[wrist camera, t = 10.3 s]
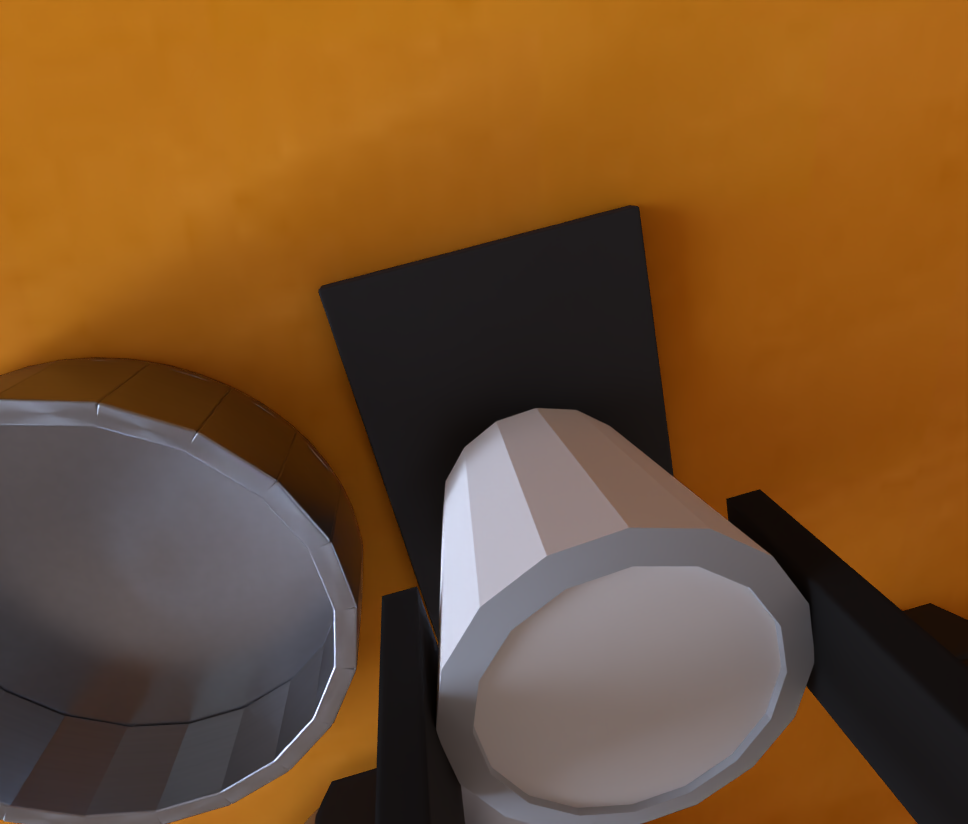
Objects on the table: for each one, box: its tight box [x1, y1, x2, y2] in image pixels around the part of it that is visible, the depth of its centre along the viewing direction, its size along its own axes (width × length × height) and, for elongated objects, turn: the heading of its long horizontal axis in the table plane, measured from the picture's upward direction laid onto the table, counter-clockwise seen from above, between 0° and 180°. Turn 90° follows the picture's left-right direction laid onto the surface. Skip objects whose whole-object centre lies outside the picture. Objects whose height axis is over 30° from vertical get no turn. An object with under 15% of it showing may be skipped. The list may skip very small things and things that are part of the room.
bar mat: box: [319, 205, 674, 642], centre depth 18 cm, size 8×14×1 cm, turn 13°
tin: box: [0, 358, 363, 824], centre depth 16 cm, size 13×13×3 cm
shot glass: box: [436, 408, 814, 824], centre depth 14 cm, size 7×7×7 cm
